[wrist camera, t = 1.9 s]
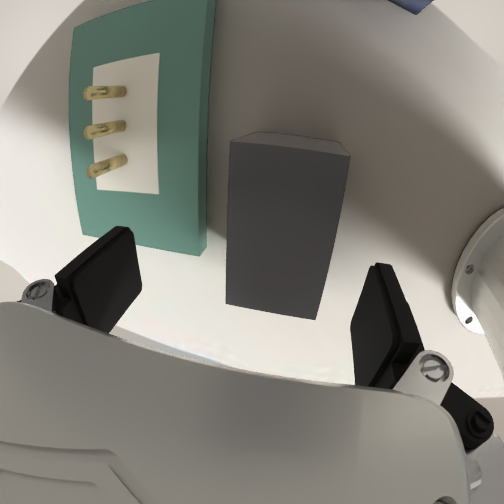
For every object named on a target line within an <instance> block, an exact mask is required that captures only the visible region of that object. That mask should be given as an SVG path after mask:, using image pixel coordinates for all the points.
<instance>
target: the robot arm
mask: <svg viewBox="0 0 504 504" xmlns="http://www.w3.org/2000/svg"><path fill="white" fill-rule="evenodd" d="M55 278H56V281H57V285H55V286H54V283H53V282H52V281H51V280H49V279H41V280H38V281H35V282H33V283H31V284H30V285H29V286H27V288H26V289H25V290H24V292H23V295H22V300H20V301H17V302H2V303H0V504H504V442H503V441H502V440H501V438H500V437H499V435H498V434H497V435H496V436H494V435H493V434H492V433H493V429H494V422H493V419H492V416H491V414H490V413H489V412H488V410H487V409H486V408H484V407H483V406H482V405H480V404H479V403H478V402H477V401H475V400H474V399H473V398H471V397H470V396H469V395H468V394H466V393H465V392H464V391H462V390H461V389H460V388H458V387H457V386H456V385H454V384H453V383H452V379H453V375H454V373H453V367H452V365H451V363H450V362H449V360H448V359H447V358H446V357H445V356H443V355H442V354H440V353H438V352H436V351H432V350H426V351H425V350H424V347H423V343H422V340H421V337H420V334H419V331H418V329H417V326H416V323H415V320H414V317H413V315H412V312H411V309H410V307H409V304H408V303H407V302H406V299H405V297H404V294H403V292H402V289H401V287H400V284H399V282H398V279H397V277H396V275H395V272H394V270H393V268H392V266H391V265H390V264H384V263H376V264H375V266H370V268H369V271H368V274H367V277H366V280H365V283H364V286H363V289H362V292H361V295H360V298H359V301H358V304H357V307H356V309H355V312H354V315H353V318H352V320H351V325H350V330H351V340H352V350H353V361H354V374H355V385H347V384H337V383H328V382H319V381H311V380H304V379H296V378H289V377H282V376H276V375H270V374H264V373H258V372H252V371H247V370H242V369H237V368H232V367H227V366H223V365H218V364H213V363H209V362H205V361H200V360H196V359H192V358H188V357H184V356H181V355H177V354H173V353H169V352H166V351H162V350H158V349H155V348H152V347H148V346H145V345H142V344H139V343H135V342H132V341H129V340H126V339H123V338H120V337H117V336H114V335H111V334H109V332H110V331H111V330H112V328H113V327H114V326H115V324H116V323H117V322H118V321H119V319H120V318H121V317H122V315H123V314H124V313H125V311H126V310H127V309H128V308H129V306H130V305H131V304H132V302H133V301H134V300H135V299H136V297H137V296H138V295H139V293H140V292H141V290H142V281H141V276H140V270H139V264H138V258H137V252H136V245H135V238H134V233H133V232H132V231H131V229H130V228H129V227H125V226H115V227H114V228H112V229H111V230H110V231H108V232H107V233H106V234H104V235H103V236H102V237H100V238H99V239H98V240H97V241H95V242H94V243H93V244H92V245H90V246H89V247H88V248H87V249H85V250H84V251H83V252H82V253H81V254H79V255H78V256H77V257H76V258H74V259H73V260H72V261H71V262H70V263H69V264H67V265H66V266H65V267H64V268H63V269H62V270H60V271H59V272H58V273H57V274H56V275H55ZM451 294H452V304H453V308H454V311H455V313H456V315H457V318H458V320H459V321H460V323H461V324H462V326H463V327H465V328H466V329H468V330H469V331H472V332H475V333H481V334H485V336H486V338H487V340H488V342H489V344H490V347H491V349H492V351H493V353H494V356H495V358H496V360H497V363H498V365H499V368H500V370H501V373H502V375H503V378H504V208H502V209H500V210H498V211H497V212H496V213H494V214H493V215H492V216H490V217H489V218H488V219H487V220H486V221H485V222H484V223H483V224H482V225H481V226H480V227H479V228H478V230H477V231H476V232H475V234H474V235H473V236H472V237H471V239H470V240H469V242H468V244H467V246H466V247H465V249H464V251H463V253H462V255H461V257H460V259H459V262H458V264H457V267H456V270H455V274H454V277H453V283H452V290H451Z"/></svg>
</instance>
